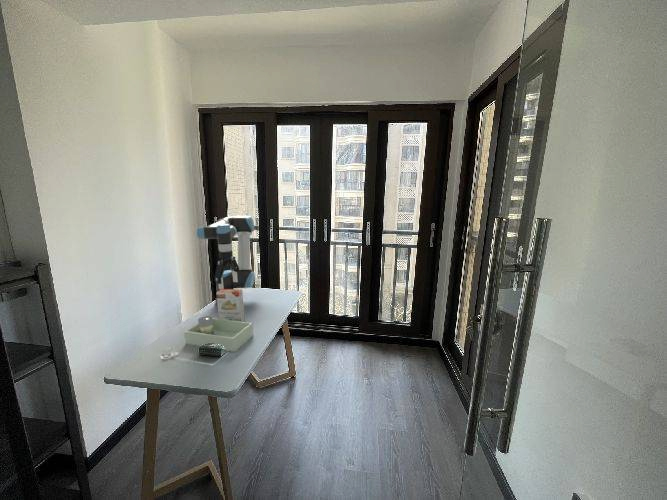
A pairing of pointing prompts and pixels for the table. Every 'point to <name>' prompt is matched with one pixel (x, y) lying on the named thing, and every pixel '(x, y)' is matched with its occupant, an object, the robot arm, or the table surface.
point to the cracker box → (230, 304)
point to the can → (206, 325)
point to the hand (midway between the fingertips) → (228, 285)
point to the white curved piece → (169, 353)
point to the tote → (221, 334)
